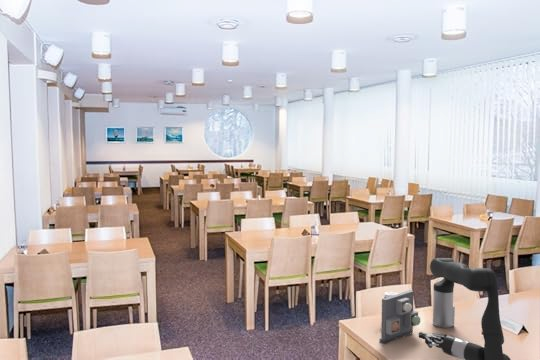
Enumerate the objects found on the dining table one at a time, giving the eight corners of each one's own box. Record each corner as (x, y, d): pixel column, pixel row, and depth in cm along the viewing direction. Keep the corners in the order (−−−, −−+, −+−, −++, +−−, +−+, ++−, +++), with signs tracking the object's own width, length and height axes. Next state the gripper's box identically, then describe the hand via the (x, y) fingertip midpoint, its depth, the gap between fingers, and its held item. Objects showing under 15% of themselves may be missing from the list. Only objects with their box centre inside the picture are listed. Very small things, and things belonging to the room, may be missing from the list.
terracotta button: (398, 330, 215) (398, 321, 215) (392, 332, 213) (393, 323, 212) (393, 328, 217) (394, 319, 217) (388, 330, 215) (388, 321, 214)
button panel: (418, 334, 225) (419, 292, 224) (390, 346, 212) (391, 301, 211) (407, 330, 230) (408, 289, 229) (379, 342, 217) (380, 298, 216)
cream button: (411, 311, 218) (411, 302, 217) (406, 313, 215) (406, 304, 215) (407, 310, 220) (407, 301, 219) (401, 311, 217) (401, 303, 217)
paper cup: (399, 324, 239) (399, 296, 238) (383, 322, 241) (384, 295, 240) (398, 318, 247) (399, 291, 246) (383, 317, 248) (383, 290, 247)
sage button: (420, 324, 223) (420, 315, 222) (415, 326, 220) (415, 317, 220) (415, 322, 224) (415, 314, 224) (410, 324, 222) (410, 316, 222)
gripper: (466, 334, 196) (428, 322, 209) (448, 342, 187) (410, 329, 201) (465, 352, 196) (428, 339, 210) (448, 361, 188) (410, 346, 201)
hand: (419, 334), depth 205 cm, fingers closed
